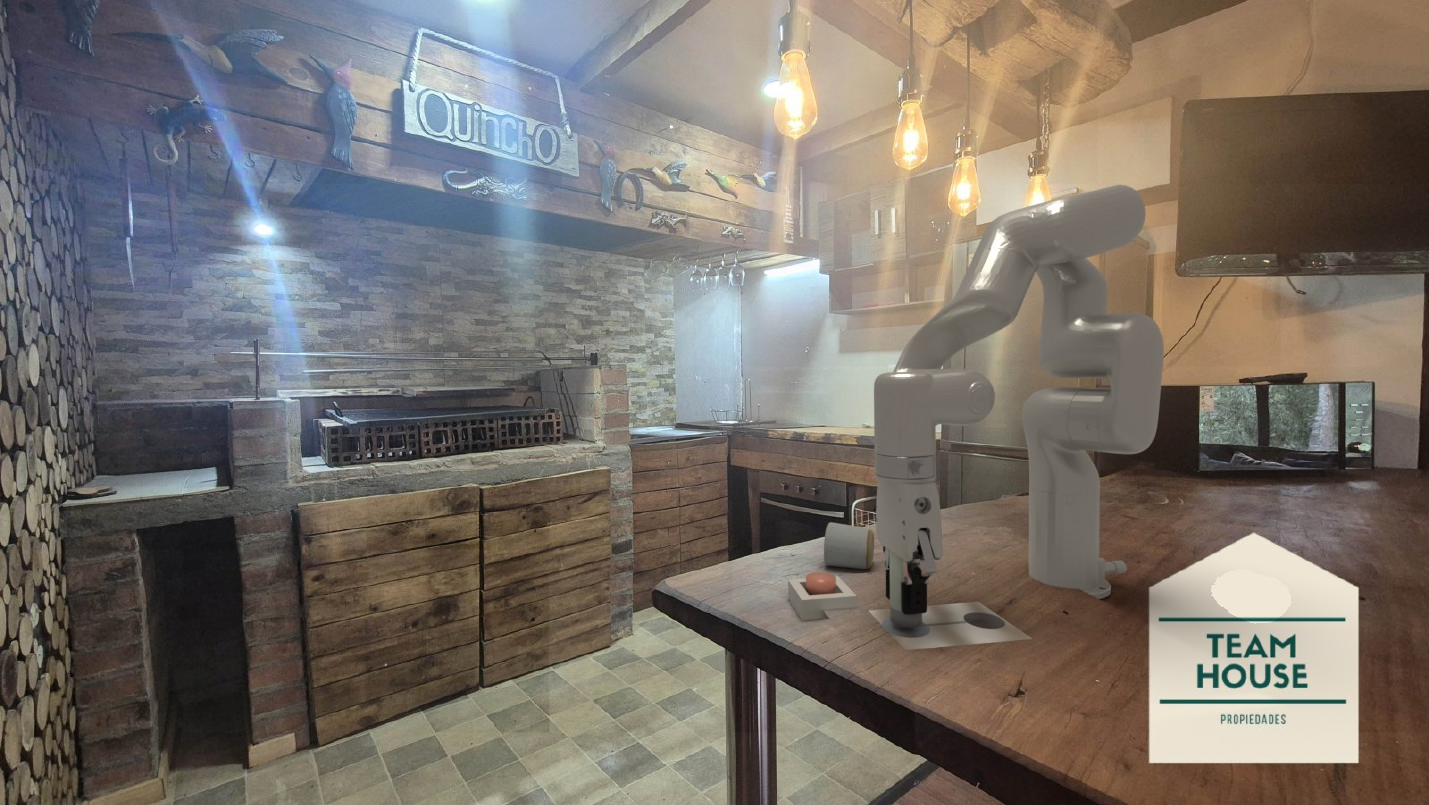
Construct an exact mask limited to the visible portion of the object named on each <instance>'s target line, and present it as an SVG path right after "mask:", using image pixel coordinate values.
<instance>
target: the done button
mask: <svg viewBox="0 0 1429 805" xmlns="http://www.w3.org/2000/svg"><path fill="white" fill-rule="evenodd" d="M835 576H836V575H834V574H831V573H829V572H820V571H819V572H818V571H815V572H811V573H808V574H806V575H805V578H806V591H807V593H809V594H811V595H822V594H835V593H836V577H835Z"/></svg>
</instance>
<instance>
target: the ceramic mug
mask: <svg viewBox="0 0 1429 805" xmlns="http://www.w3.org/2000/svg"><path fill="white" fill-rule="evenodd" d="M874 552H875V533H874V531H873V530H872V529H869V528H868V527H867V528H866V527H864V526H857V525H856V526H855V525H850V524H843V523H838V522H832V521H831V522H830V521H829V522H828V523H827V526H826V528H825V534H824V543H823V560H824V564H825V565H826V566H828V567H837V568H845V569H846V568H847V569H854V570H855V569H856V570H868V569H870V568H871V567H872V565H873V562H874V561H873V560H874Z"/></svg>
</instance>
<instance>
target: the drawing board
mask: <svg viewBox="0 0 1429 805" xmlns="http://www.w3.org/2000/svg"><path fill="white" fill-rule="evenodd" d="M868 612H869V613H870V614H871V615H872V616H873V617H874V619H876V621H877V622H878V623H879V624H880V625H881V626H882V628H883V629H884V630H885V631H886V632H887V633H889V634H890V636H891V637H892V638H893V639H894V640H895V641H896V642H897V643H898V644H899V645H900V646H901V647H902V648H903V649H904V651H912V650H923V649H924V650H925V649H936V648H945V647H947V648H948V647H956V646H957V647H958V646H968V645H969V646H971V645H980V644H981V645H982V644H991V643H1002V642H1014V641H1015V642H1016V641H1027V640H1032V639H1033V638H1032V637H1031V636H1029V635H1028V634H1026V633H1025V632H1023V631H1022V630H1020V629H1018V628H1017V626H1014V625H1013V624H1011V623H1010V622H1009V621H1007V620H1006V619H1004V618H1003V617H1001V616H1000V615H999V614H997V613H996V612H995V611H993V610H991V609H990V608H989V607H987V606H985V605H984V604H982V603H981V602H980V601H971V602H961V603H960V602H959V603H947V604H933V605H932V604H931V605H927V612H926V613H922V625H920V626H918V627H913V628H908V627H901V626H898V625H895V624H894V623H892V622H891V620H890V608H882V609H880V608H879V609H869V610H868Z"/></svg>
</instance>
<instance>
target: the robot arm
mask: <svg viewBox="0 0 1429 805" xmlns="http://www.w3.org/2000/svg"><path fill="white" fill-rule="evenodd" d="M1145 206H1146V205H1145V203H1144V199H1143V197H1142V196H1141V194H1140V193H1139V192H1138V191H1137V190H1136V189H1134V188H1133V187H1132V186H1128V185H1126V184H1116V185H1115V184H1114V185H1112V186H1108V187H1104V188H1099V189H1096V190H1090V191H1087V192H1082V193H1078V194H1077V193H1076V194H1071V195H1068V196H1062V197H1061V196H1060V197H1058V198H1054V199H1051V200H1048V201H1047V200H1046V201H1044V202H1040V203H1036V204H1034V205H1033V204H1032V205H1030V206H1026V207H1021V208H1019V209H1015V210H1011V211H1009V212H1006V213H1004V214H1001V215H999V216H998V217H996V218H994V219H993V220H991V222H990V223H989V224H988V225H987V227H986V229H985V230H984V231H983V234H982V236H981V239H980V241H979V242H978V245H977V248H976V250H975V251H974V254H973V257H972V258H971V261H970V262H969V265H968V268H967V269H966V271H965V274H964V276H963V278H962V280H961V283H960V285H959V287H958V290H957V291H956V293H955V295H954V297H953V298H952V299H951V301H949V302H948V303H947V304H945V306H943V307H942V308H941V309H940V310H938V311H937V313H935V314H934V315H933V316H932V317H931V318H930V319H929V320H928V321H927V322H926V323H925V324H924V325H923V326H921V328H920V329H918V330H917V331H916V333H915V334H914V335H913V336H912V337H911V338H910V339H909V341H908V343H907V344H906V345H905V346H904V348H903V350H902V352H901V354H900V356H899V358H898V361H897V363H896V364H895V367H894V369H893V371H891V372H890V371H889V372H883V373H881V374H878V376H876V378H875V380H874V384H873V417H874V418H873V420H874V421H873V424H874V425H873V426H874V430H873V432H874V439H873V440H874V479H875V480H877V488H876V504H875V506H876V507H875V508H876V509H875V510H876V511H875V527H876V529H875V530H876V536H877V537H876V539H877V540H878V542H879V543H880V544H881V545H882V551H883V553H884V558H883V559H884V561H883V563H884V567H885V597H886V599H888V600H889V601H890V557H889V550H890V551H892V552H893V553H895V554H896V555H897V556H899V557H900V558H902V561H903V573H904V581H905V582H901V611H902V612H903V613H904V614H905V615H907V614H920V613H926V612H927V606H928V584H929V582H930V577H931V575H933V574H934V573H936V572H937V565H936V561H937V560H938V561H939V560H942V557H943V552H944V547H943V527H942V526H943V525H942V514H941V513H942V512H941V504H940V496H939V491H938V486H937V483H936V480H937V476H936V472H937V465H936V464H937V463H936V462H937V461H936V459H937V458H936V457H937V455H936V452H937V450H936V449H937V448H936V447H937V446H936V442H937V440H936V439H937V438H936V435H937V434H936V432H937V431H936V428H937V426H938V425H943V426H944V425H945V426H954V427H955V426H956V427H963V426H965V427H966V426H971V425H975V424H977V423H979V422H981V421H982V420H983V421H984V419H986V418H987V417H988V415H989V414H990V413H991V412H992V409H993V408H994V405H995V400H996V393H995V389H994V386H993V384H992V382H990V379H988V378H987V377H986V376H985V375H983V374H982V373H981V372H978V371H976V370H972V369H968V368H943V366H944V365H945V364H947V362H948V361H949V360H950V359H951V358H952V357H953V356H954V355H956V354H957V353H959V352H960V351H962V350H963V349H965V348H967V347H969V346H971V345H973V344H975V343H977V342H979V341H981V340H984V339H986V338H988V337H990V336H991V335H994V334H996V333H998V332H999V331H1001V330H1003V329H1004V328H1007V327H1008V326H1009V325H1011V324H1012V323H1013V322H1014V321H1015V320H1016V318H1017V316H1018V314H1019V312H1020V310H1021V308H1022V304H1023V302H1024V300H1025V297H1026V295H1027V292H1028V290H1029V288H1030V285H1031V283H1032V280H1033V279H1034V277H1035V274H1036V275H1037V277H1038V278H1039V281H1040V284H1041V286H1042V291H1043V303H1042V312H1041V313H1042V314H1041V315H1042V316H1041V326H1040V334H1039V336H1040V337H1039V352H1038V354H1039V356H1038V357H1039V358H1038V359H1039V364H1040V368H1041V370H1042V371H1043V372H1044V373H1045V374H1047V375H1049V376H1050V377H1054V378H1059V379H1082V380H1083V379H1089V380H1090V379H1091V380H1092V379H1096V380H1097V379H1100V380H1103V379H1105V380H1110V387H1088V386H1085V387H1084V386H1083V387H1082V386H1054V387H1047V388H1042V389H1039V390H1038V391H1035V392H1034V393H1032V394H1031V395H1030V396H1029V397H1028V398H1027V399H1026V400H1025V402H1024V403H1023V406H1022V410H1021V412H1022V413H1021V420H1022V429H1023V432H1024V436H1025V440H1026V445H1027V446H1026V447H1027V453H1028V454H1027V456H1028V473H1029V475H1028V477H1029V478H1028V479H1029V480H1028V482H1029V483H1028V575H1029V576H1030V578H1031V579H1034V580H1035V581H1037V582H1040V583H1042V584H1045V585H1048V586H1052V587H1056V588H1061V589H1068V590H1080V591H1082V592H1084V593H1086V594H1088V595H1089V596H1092V597H1093V598H1096V599H1098V600H1101V599H1105V598H1107V597H1108V596H1110V594H1112V592H1111V591H1112V586H1111V584H1110V582H1109V581H1108V580H1107V579H1106V577H1109V575H1110V574H1114V575H1115V574H1125V573H1127V571H1128V567H1127V564H1126V563H1125V561H1123V560H1111V561H1106V560H1105V558H1104V557H1100V510H1101V509H1100V505H1101V503H1100V502H1101V501H1100V499H1101V498H1100V496H1101V494H1100V493H1101V480H1100V475H1099V472H1098V469H1097V468H1096V465H1095V464H1094V462H1093V460H1092V459H1091V457H1090V455H1089V454H1088V453H1087V451H1090V452H1098V453H1107V454H1119V455H1135V454H1136V455H1137V454H1139V453H1141V452H1144V451H1146V450H1147V449H1148V448H1149V447H1150V446H1151V445H1152V443H1153V442H1154V439H1155V437H1156V433H1157V429H1158V422H1159V415H1160V414H1159V412H1160V404H1161V403H1160V402H1161V392H1162V380H1163V370H1164V368H1163V367H1164V358H1165V355H1164V354H1165V346H1164V344H1165V343H1164V339H1163V334H1162V332H1161V329H1160V326H1159V325H1158V323H1157V322H1156V321H1155V319H1153V318H1152V317H1151V316H1148V315H1146V314H1142V313H1139V312H1122V313H1121V312H1120V313H1110V314H1107V312H1108V311H1107V310H1108V309H1107V308H1108V282H1107V280H1106V279H1105V276H1104V275H1103V273H1102V272H1101V271H1100V270H1099V269H1098V267H1097V266H1096V265H1095V264H1094V263H1092V262H1091V260H1089V259H1088V258H1090V257H1094V256H1095V257H1096V256H1098V255H1102V254H1104V253H1107V252H1110V251H1113V250H1116V249H1119V248H1122V247H1126V246H1128V245H1129V244H1130V243H1132V242H1133V241H1134V240H1136V238H1137V237H1138V236H1139V234H1140V233H1141V232H1142V229H1143V227H1144V224H1145V222H1146V207H1145ZM913 554H919V557H913ZM918 563H919V566H918V567H915V568H914V569H913V570H912V572H911V564H918Z"/></svg>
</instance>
